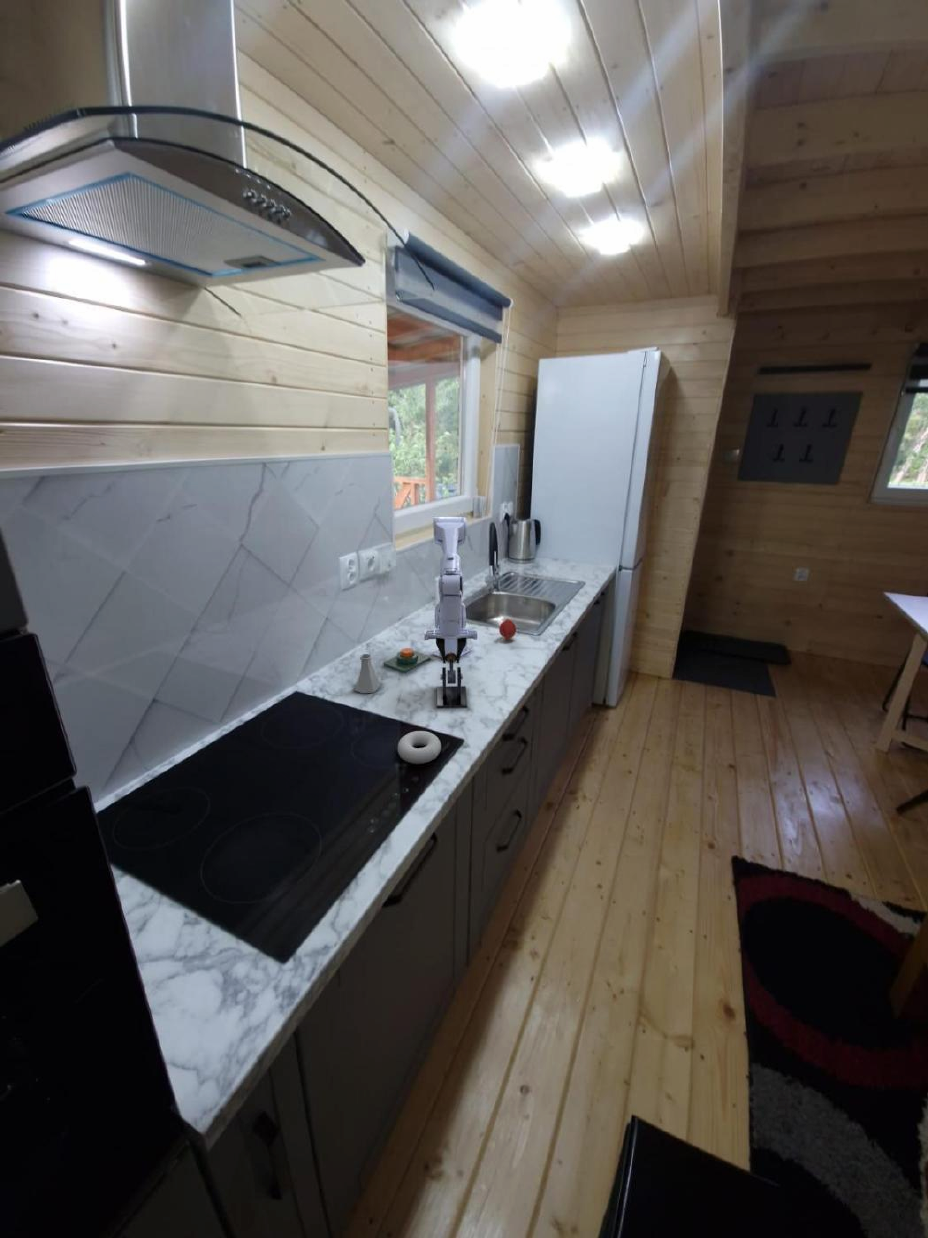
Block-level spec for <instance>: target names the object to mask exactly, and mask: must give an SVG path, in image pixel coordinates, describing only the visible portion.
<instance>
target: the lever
mask: <svg viewBox="0 0 928 1238" xmlns="http://www.w3.org/2000/svg"><path fill="white" fill-rule="evenodd" d="M445 658H446V663H448V668H449V669H446V679H447V684H448V685H449V684H451V685H453V684H455V685H457V669H454V664H455V663H457V662H456V660H457V656H456V654H454V653H452V652H450V653H448V654H447V655H446V657H445Z"/></svg>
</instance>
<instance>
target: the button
mask: <svg viewBox="0 0 928 1238" xmlns="http://www.w3.org/2000/svg"><path fill="white" fill-rule="evenodd" d="M400 651H401V656H402V657H404V658H409V657H412V656H413V651H414V650H413V648H410V647H406V648H402V649H401V650H400Z"/></svg>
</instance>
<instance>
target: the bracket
mask: <svg viewBox="0 0 928 1238" xmlns="http://www.w3.org/2000/svg"><path fill="white" fill-rule="evenodd" d="M439 677H440V680H442V681H441V683H442V684H441V686H436V709H462V708H463V709H464V708H465V709H466V708H468V700H467V687H466V685H462V680H463V679H464V674H463V673H462V668H461V666H457V667H456V685H455V686H454V685H453V686H448V685H447V667H445V666H443V667H442V668H441V674H440V675H439Z"/></svg>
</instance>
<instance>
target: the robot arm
mask: <svg viewBox="0 0 928 1238" xmlns="http://www.w3.org/2000/svg"><path fill="white" fill-rule="evenodd" d="M432 521H433V540H434V543H435V545H437V546H440V548H441V550H442V556H441V557H440V560H439V576H438V596H439V601H438V602H436V604H435V606H434V628H435V629H432V630H425V631H424V635H423V636H424V641H429V640H435V645H436V647H437V649H438V650H437V651H435V652H434V653H433V656H435V657H439V658H441V659H442V664H444V665H445V664H447V661H446V658H445V657H446V655H447V654H448V653H450V652H452V653H454V654H456V656H457V660H456V662H455V663H456V664H460V660H461V657H463V656H464V655H465V654H468V653H469V652H470V649H469V648H468V640H475V641H477V640H478V630H472V629H466V627H467V613H466V612H467V611H466V605H465V603H464V602H463V601H462V598H463V595H464V577H463V571H462V559H461V557H460V555H459V554H458V553H457V552H458V550H459V547H460V546H462V545H465V542H466V539H467V518H466V517H465V516H460V517H459V516H457V517H456V516H455V517H454V516H446V517H445V516H443V517H442V516H435V517H434V518H433V520H432Z"/></svg>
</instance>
